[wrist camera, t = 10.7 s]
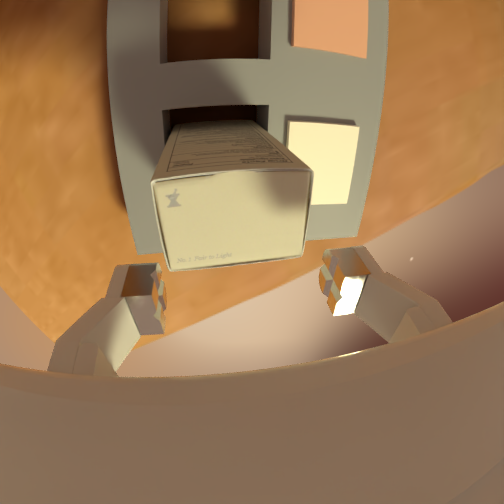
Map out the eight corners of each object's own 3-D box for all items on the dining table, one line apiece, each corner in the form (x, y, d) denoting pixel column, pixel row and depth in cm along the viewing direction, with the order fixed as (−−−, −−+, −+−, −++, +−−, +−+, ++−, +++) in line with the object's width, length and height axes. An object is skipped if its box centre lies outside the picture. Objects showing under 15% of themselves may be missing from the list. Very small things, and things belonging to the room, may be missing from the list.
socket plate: (144, 227, 24) (136, 258, 20) (128, -42, 9) (112, -63, 6) (338, 213, 26) (359, 239, 23) (360, -31, 12) (390, -42, 8)
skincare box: (178, 174, 21) (162, 276, 12) (173, 121, 19) (142, 179, 9) (256, 169, 22) (304, 262, 13) (257, 116, 20) (316, 168, 10)
